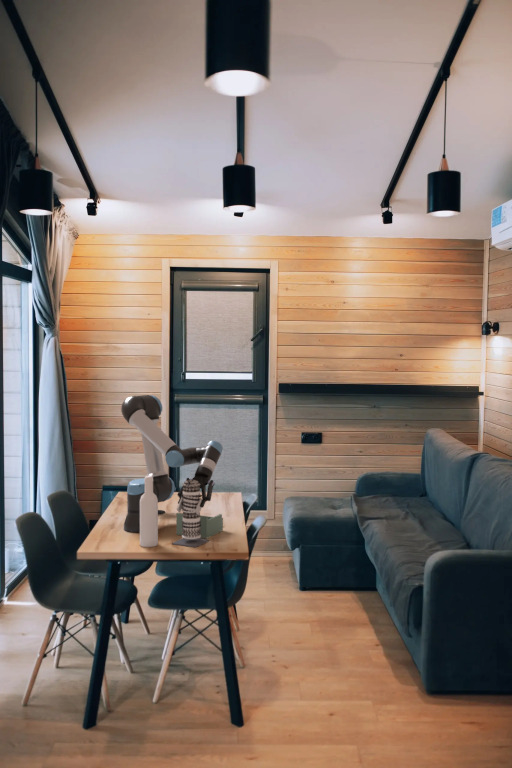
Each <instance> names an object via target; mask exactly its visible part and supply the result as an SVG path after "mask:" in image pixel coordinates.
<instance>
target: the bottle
mask: <svg viewBox="0 0 512 768" xmlns="http://www.w3.org/2000/svg"><path fill="white" fill-rule="evenodd" d="M145 476H146V475H145ZM145 476H144V478H145V479H144V481H145V493H144V494H143V495H142V496H141V499H140V532H139V545H140V547H143V548H153V547H157V546H158V544H159V533H158V532H159V524H158V523H159V515H158V510H159V506H158V505H159V502H158V499H157V496H156V495H155V494H154V493H153V477H152V476H146V477H145Z"/></svg>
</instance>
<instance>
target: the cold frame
mask: <svg viewBox="0 0 512 768" xmlns="http://www.w3.org/2000/svg"><path fill="white" fill-rule="evenodd" d="M182 521H183V512H180V513H179V512H177V513H176V528H175V529H176V535H177V536H182V528H183V527H182V524H183V523H182ZM200 521H201V523H200V524H201V526H200V528H201V530H200V531H201V534H200V535H201V537H200V538H201V539H209V538H211V537H212V536H215V535H217V534H218V533H221V532H223V531H224V526H223V524H224V518H223V514H222V513H221V514H217V515H215V516H210V515H209V516H208V515H201V514H200Z"/></svg>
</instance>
